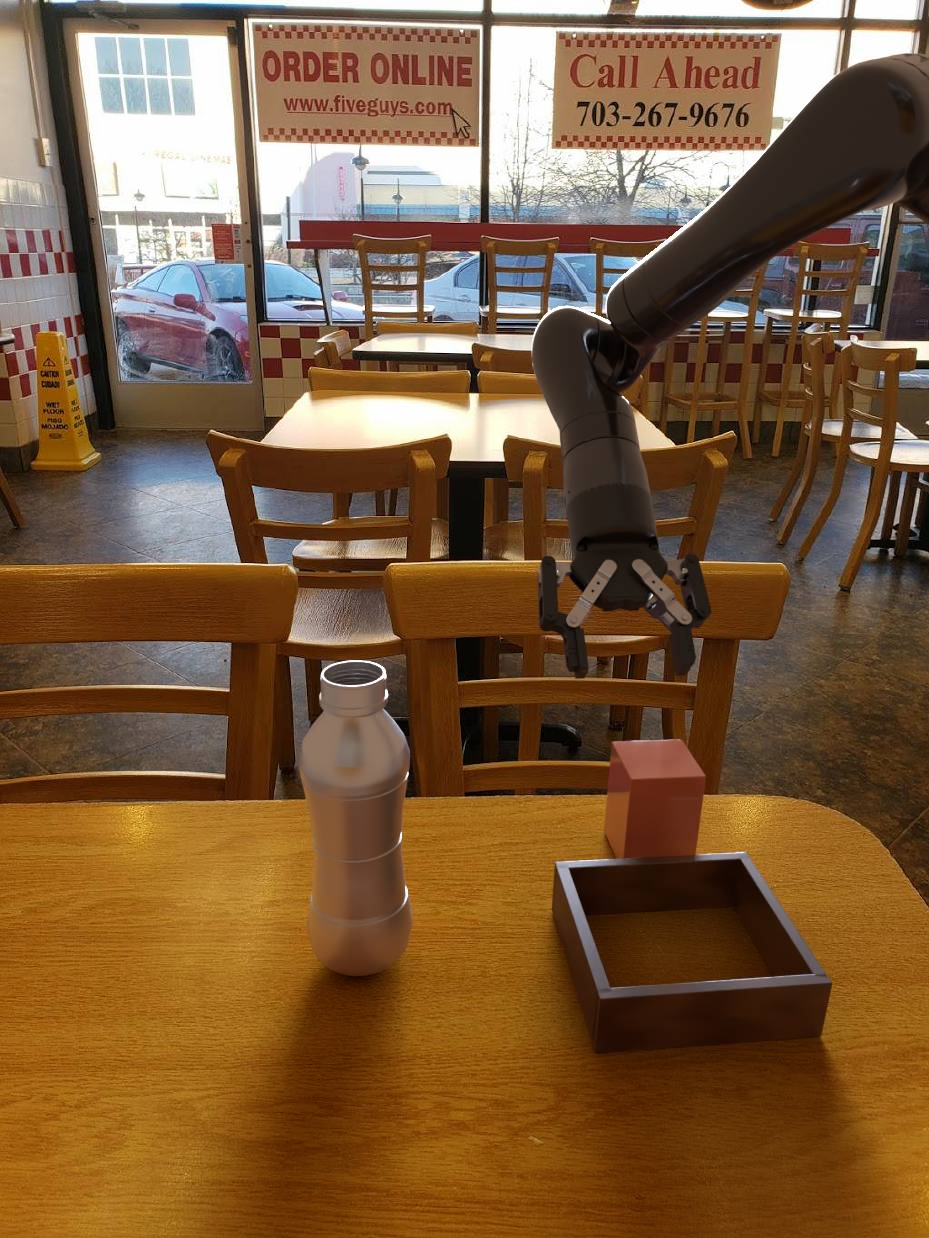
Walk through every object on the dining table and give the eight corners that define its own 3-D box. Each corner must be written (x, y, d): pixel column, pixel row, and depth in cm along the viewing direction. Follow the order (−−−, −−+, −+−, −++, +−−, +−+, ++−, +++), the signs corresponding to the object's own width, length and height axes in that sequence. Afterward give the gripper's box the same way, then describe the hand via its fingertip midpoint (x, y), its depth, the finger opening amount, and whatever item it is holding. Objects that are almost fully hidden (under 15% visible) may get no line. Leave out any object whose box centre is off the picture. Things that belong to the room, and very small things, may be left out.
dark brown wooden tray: (739, 898, 67) (746, 851, 65) (821, 1036, 55) (832, 982, 54) (551, 909, 65) (554, 861, 64) (595, 1053, 54) (600, 998, 52)
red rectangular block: (670, 827, 75) (681, 738, 72) (694, 869, 70) (706, 776, 67) (603, 830, 74) (611, 741, 71) (621, 873, 69) (631, 779, 66)
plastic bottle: (426, 974, 59) (429, 687, 52) (321, 1002, 57) (308, 706, 49) (395, 911, 65) (393, 644, 57) (298, 934, 62) (283, 659, 55)
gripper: (535, 480, 79) (556, 660, 73) (699, 479, 81) (733, 655, 74) (522, 524, 86) (540, 692, 79) (673, 522, 87) (702, 686, 81)
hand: (633, 674), depth 77 cm, fingers open, 8 cm apart
